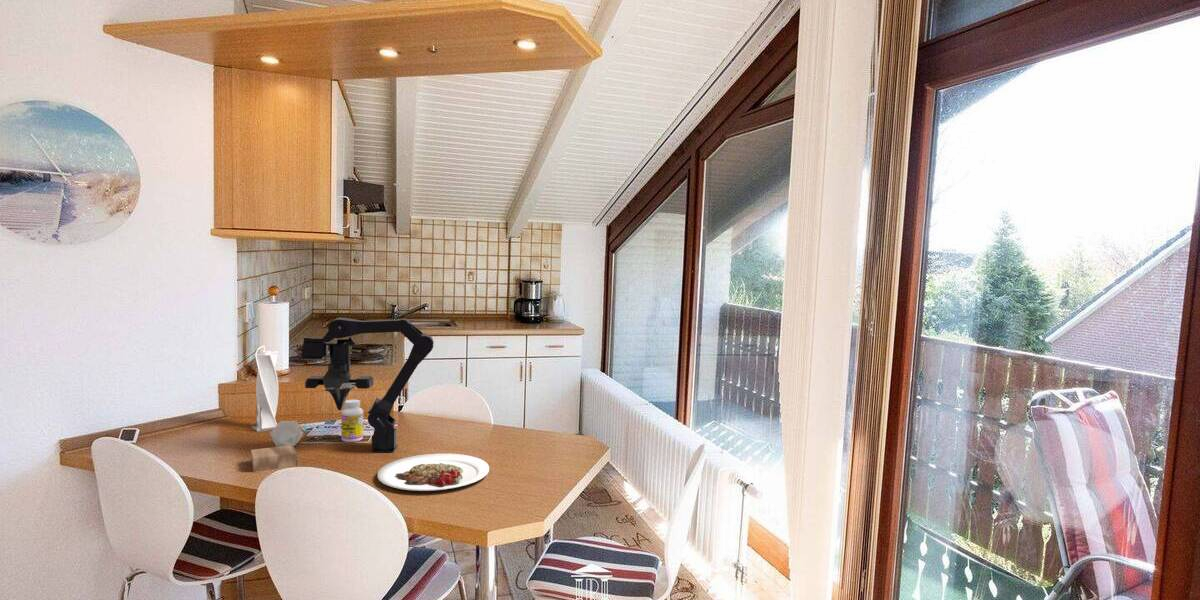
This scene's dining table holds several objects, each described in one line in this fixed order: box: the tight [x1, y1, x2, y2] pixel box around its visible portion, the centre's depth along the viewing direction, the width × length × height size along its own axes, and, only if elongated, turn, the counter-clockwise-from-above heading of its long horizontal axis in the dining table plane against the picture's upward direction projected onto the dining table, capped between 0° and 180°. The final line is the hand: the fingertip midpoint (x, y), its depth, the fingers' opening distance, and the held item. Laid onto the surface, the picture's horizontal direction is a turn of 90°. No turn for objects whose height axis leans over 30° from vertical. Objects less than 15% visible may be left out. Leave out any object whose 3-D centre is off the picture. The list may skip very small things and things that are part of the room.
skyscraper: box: [251, 345, 280, 433], centre depth 223 cm, size 8×8×28 cm
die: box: [269, 420, 304, 447], centre depth 203 cm, size 8×9×10 cm
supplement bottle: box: [340, 399, 364, 443], centre depth 211 cm, size 7×7×13 cm
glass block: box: [250, 445, 298, 473], centre depth 186 cm, size 4×9×11 cm
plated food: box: [377, 452, 490, 492], centre depth 180 cm, size 30×30×3 cm
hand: (339, 410), depth 198 cm, fingers closed
